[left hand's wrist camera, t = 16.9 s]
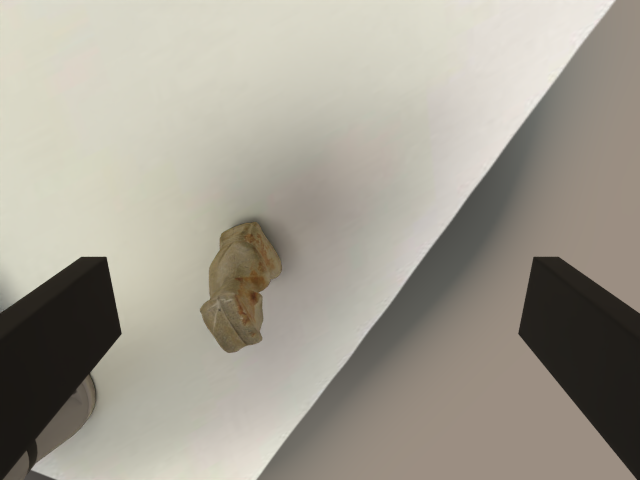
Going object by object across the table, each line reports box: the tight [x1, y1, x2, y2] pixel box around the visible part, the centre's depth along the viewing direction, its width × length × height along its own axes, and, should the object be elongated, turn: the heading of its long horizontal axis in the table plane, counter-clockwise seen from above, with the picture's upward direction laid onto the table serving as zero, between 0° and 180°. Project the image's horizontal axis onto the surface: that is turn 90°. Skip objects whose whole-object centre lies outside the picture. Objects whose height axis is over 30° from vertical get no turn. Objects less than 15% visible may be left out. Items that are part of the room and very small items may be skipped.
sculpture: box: [200, 222, 282, 353], centre depth 38 cm, size 6×7×15 cm
